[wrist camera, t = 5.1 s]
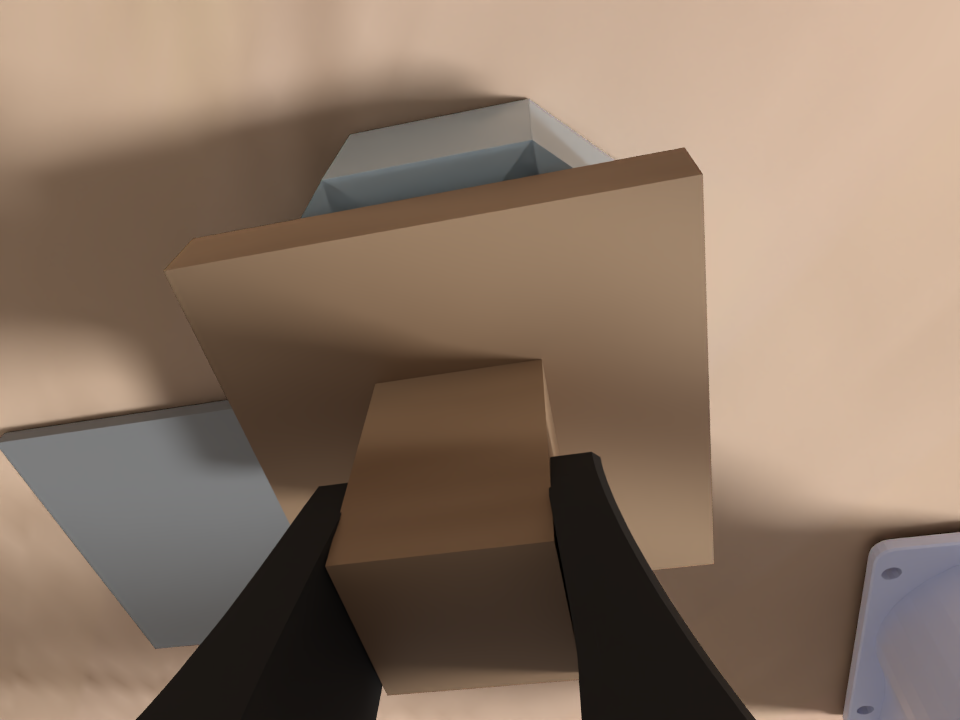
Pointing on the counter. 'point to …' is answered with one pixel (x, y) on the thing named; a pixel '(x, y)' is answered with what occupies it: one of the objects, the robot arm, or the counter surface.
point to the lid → (472, 396)
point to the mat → (158, 510)
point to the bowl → (449, 156)
